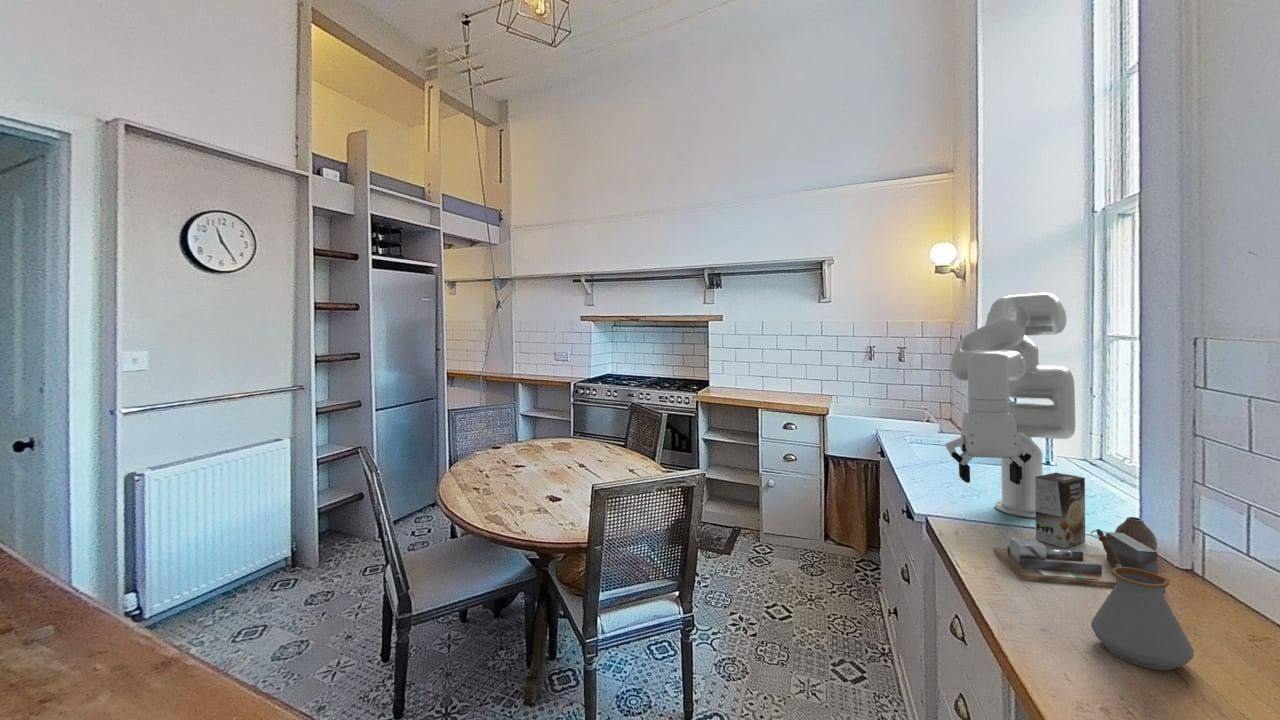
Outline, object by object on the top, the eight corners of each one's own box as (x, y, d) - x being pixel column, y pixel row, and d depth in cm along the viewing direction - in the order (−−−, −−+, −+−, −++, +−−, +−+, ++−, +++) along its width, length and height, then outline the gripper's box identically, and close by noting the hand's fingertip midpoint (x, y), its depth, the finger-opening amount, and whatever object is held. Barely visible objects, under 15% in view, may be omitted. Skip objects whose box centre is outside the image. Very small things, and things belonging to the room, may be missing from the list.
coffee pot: (1213, 687, 70) (1212, 585, 69) (1108, 667, 75) (1107, 572, 74) (1139, 611, 89) (1138, 531, 89) (1060, 599, 94) (1058, 524, 94)
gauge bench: (1022, 579, 102) (1021, 547, 102) (993, 551, 116) (993, 523, 115) (1165, 591, 95) (1164, 556, 95) (1117, 560, 109) (1116, 529, 109)
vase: (1166, 563, 106) (1166, 524, 106) (1129, 562, 108) (1129, 523, 107) (1140, 550, 113) (1140, 513, 113) (1106, 549, 114) (1105, 512, 114)
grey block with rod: (1029, 574, 102) (1029, 553, 102) (1010, 556, 110) (1010, 537, 110) (1091, 578, 99) (1091, 557, 99) (1067, 560, 107) (1066, 540, 107)
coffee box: (1065, 549, 115) (1064, 482, 115) (1034, 539, 121) (1033, 476, 121) (1086, 541, 119) (1085, 477, 119) (1055, 532, 125) (1054, 471, 124)
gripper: (1025, 404, 110) (1026, 479, 110) (939, 404, 114) (941, 476, 115) (1043, 408, 102) (1044, 488, 103) (951, 408, 107) (952, 485, 107)
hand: (990, 482), depth 109 cm, fingers open, 9 cm apart
